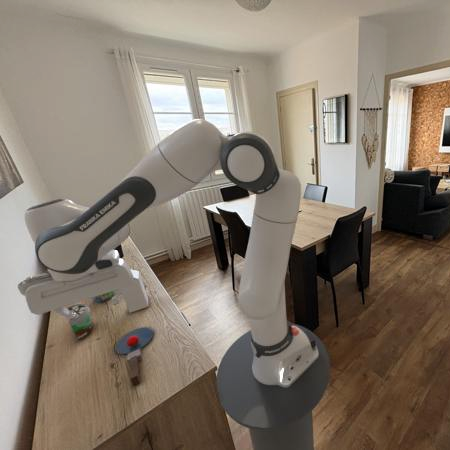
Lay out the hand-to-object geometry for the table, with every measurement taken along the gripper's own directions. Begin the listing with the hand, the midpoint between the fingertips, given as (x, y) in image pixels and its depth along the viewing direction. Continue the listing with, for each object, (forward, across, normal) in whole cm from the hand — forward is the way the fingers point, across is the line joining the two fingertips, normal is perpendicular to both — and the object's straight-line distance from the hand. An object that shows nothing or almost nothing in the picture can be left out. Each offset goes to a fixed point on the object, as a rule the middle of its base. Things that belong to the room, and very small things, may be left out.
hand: (95, 310), depth 63 cm
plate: (+29, +2, +19) cm, 34 cm away
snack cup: (+29, -10, +60) cm, 67 cm away
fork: (+29, +2, +5) cm, 29 cm away
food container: (+29, -14, +38) cm, 50 cm away
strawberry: (+24, +2, +16) cm, 29 cm away
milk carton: (+29, +4, +42) cm, 51 cm away
